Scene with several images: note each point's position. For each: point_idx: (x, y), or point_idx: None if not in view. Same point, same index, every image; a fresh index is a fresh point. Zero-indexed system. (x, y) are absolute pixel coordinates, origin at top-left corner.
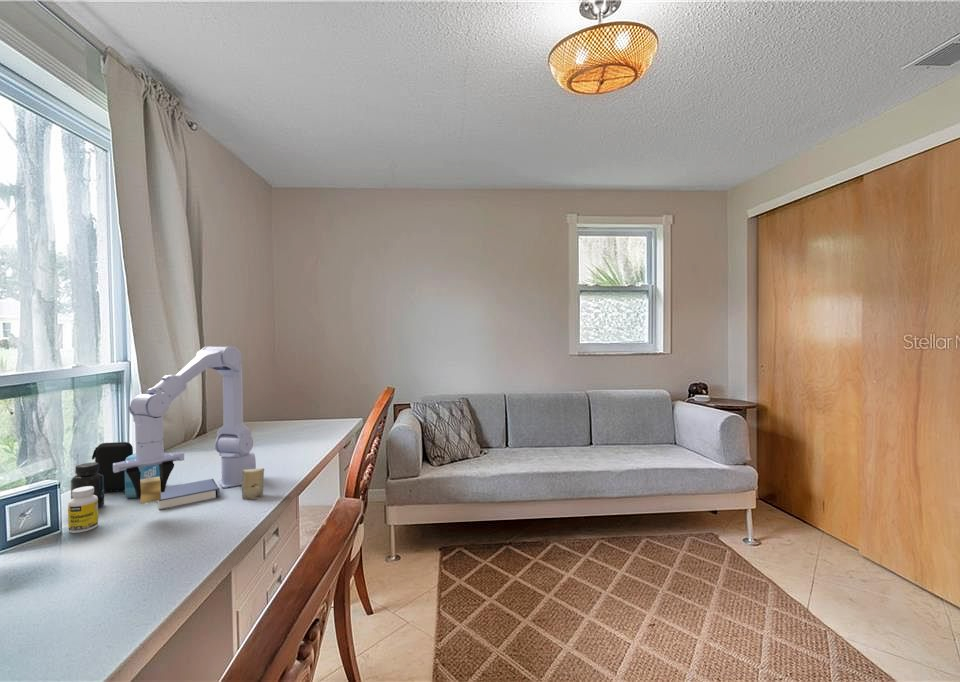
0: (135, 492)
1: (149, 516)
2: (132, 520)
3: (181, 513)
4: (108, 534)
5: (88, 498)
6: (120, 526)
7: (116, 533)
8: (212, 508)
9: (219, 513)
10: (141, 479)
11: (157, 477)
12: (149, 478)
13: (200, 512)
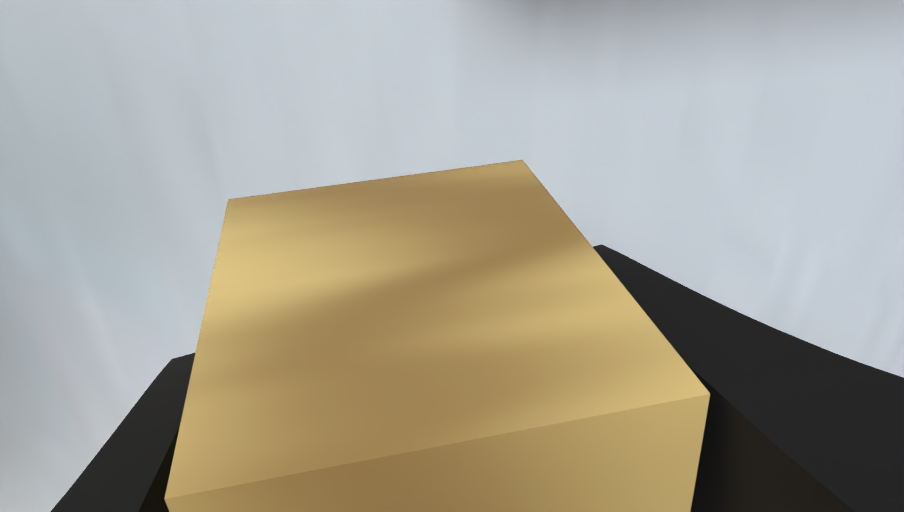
0: (141, 398)
1: (343, 89)
2: (166, 125)
3: (645, 184)
4: (35, 415)
5: None
6: (81, 258)
7: (108, 421)
8: (890, 198)
9: (871, 349)
10: (205, 492)
11: (646, 478)
12: (443, 491)
13: (780, 250)
